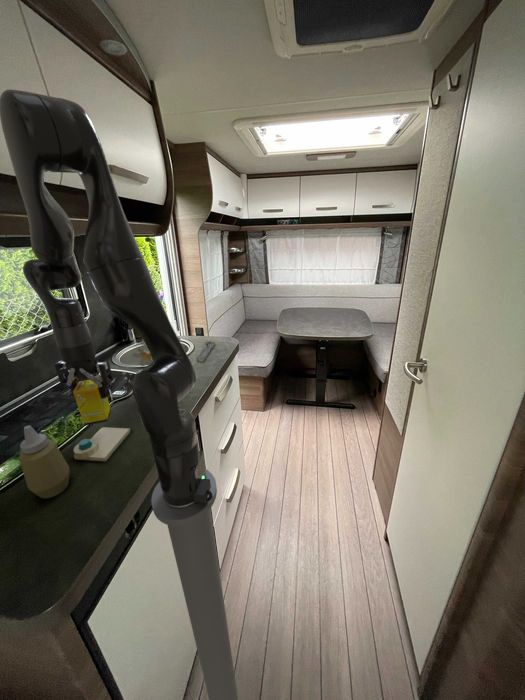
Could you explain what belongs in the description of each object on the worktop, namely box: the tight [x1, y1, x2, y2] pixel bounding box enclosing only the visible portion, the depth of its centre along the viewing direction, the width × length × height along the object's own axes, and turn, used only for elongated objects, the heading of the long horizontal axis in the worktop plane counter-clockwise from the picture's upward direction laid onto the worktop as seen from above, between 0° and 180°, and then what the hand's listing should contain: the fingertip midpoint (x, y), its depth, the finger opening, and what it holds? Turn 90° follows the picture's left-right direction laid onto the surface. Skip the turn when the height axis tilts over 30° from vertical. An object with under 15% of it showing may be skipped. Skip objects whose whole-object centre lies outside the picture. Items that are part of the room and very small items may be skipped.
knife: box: [198, 341, 215, 363], centre depth 141 cm, size 25×1×5 cm
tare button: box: [78, 438, 91, 450], centre depth 75 cm, size 3×3×2 cm
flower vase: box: [132, 336, 181, 367], centre depth 98 cm, size 13×18×25 cm
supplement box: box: [73, 378, 112, 427], centre depth 77 cm, size 6×6×11 cm
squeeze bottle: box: [18, 424, 70, 499], centre depth 63 cm, size 8×8×18 cm
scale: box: [73, 426, 131, 462], centre depth 79 cm, size 13×9×3 cm
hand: (91, 396), depth 76 cm, fingers closed on supplement box, 7 cm apart
